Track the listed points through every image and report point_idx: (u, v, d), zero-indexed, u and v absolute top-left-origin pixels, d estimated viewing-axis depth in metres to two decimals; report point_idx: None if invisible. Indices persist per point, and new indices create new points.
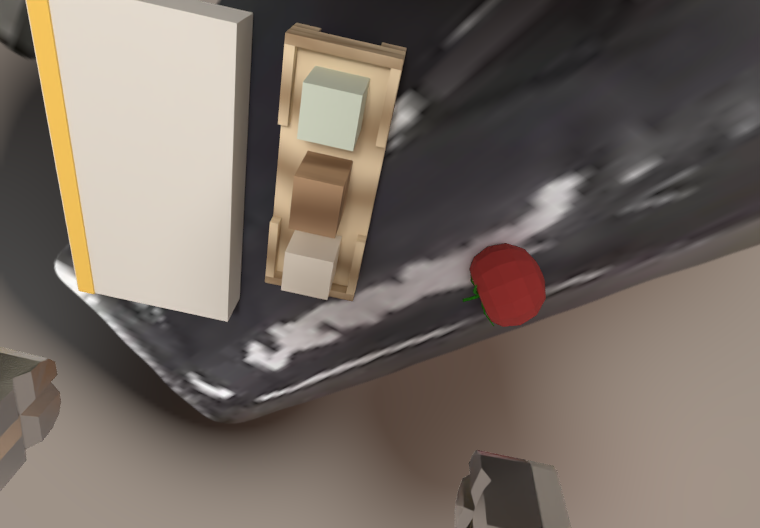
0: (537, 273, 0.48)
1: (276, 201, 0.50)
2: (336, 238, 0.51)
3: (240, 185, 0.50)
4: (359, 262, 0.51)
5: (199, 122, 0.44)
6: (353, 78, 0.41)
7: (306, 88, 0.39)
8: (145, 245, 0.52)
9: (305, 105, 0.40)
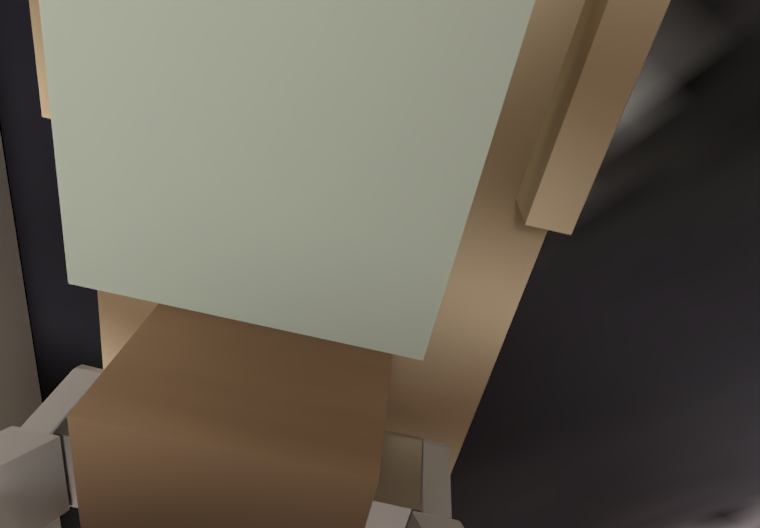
0: None
1: None
2: None
3: None
4: None
5: None
6: None
7: None
8: None
9: (81, 54, 0.05)
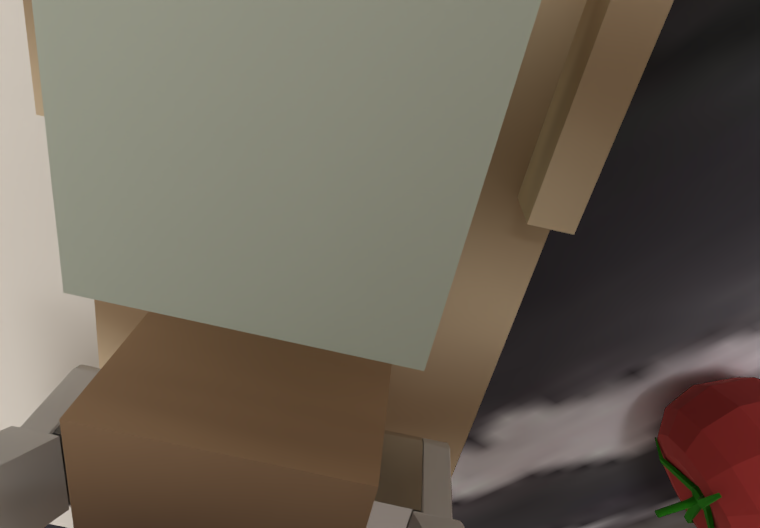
0: None
1: None
2: None
3: None
4: None
5: None
6: None
7: None
8: None
9: (76, 61, 0.05)
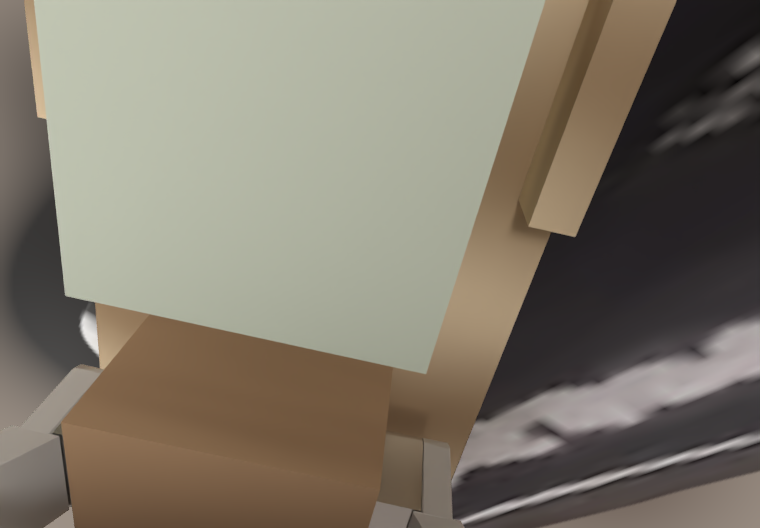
0: None
1: None
2: None
3: None
4: None
5: None
6: None
7: None
8: None
9: (79, 65, 0.05)
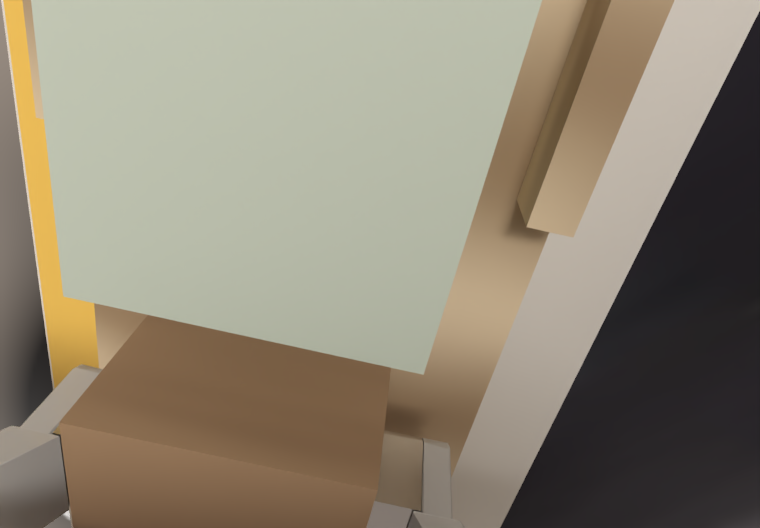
0: None
1: None
2: None
3: None
4: None
5: None
6: None
7: None
8: None
9: (76, 66, 0.05)
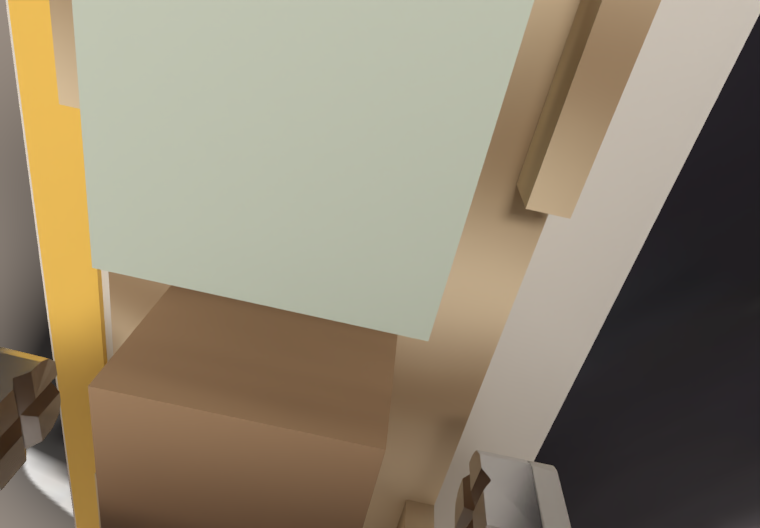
0: None
1: None
2: None
3: None
4: None
5: None
6: None
7: None
8: None
9: (110, 50, 0.06)
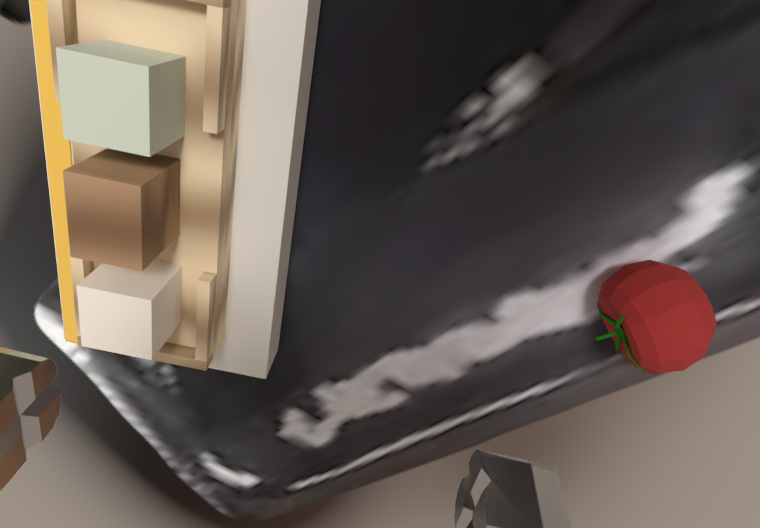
0: (706, 296, 0.35)
1: None
2: (172, 268, 0.35)
3: (294, 189, 0.38)
4: (206, 312, 0.35)
5: (250, 92, 0.32)
6: (155, 53, 0.28)
7: (63, 57, 0.25)
8: None
9: (66, 85, 0.26)
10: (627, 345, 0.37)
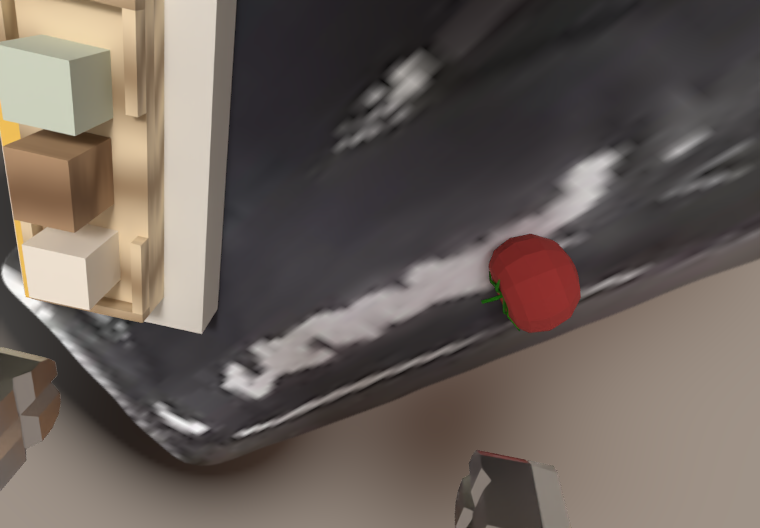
0: (571, 265, 0.40)
1: None
2: (108, 232, 0.40)
3: (220, 166, 0.43)
4: (139, 271, 0.41)
5: (173, 81, 0.37)
6: (81, 48, 0.33)
7: None
8: None
9: (2, 74, 0.31)
10: (507, 307, 0.43)
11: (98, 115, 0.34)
